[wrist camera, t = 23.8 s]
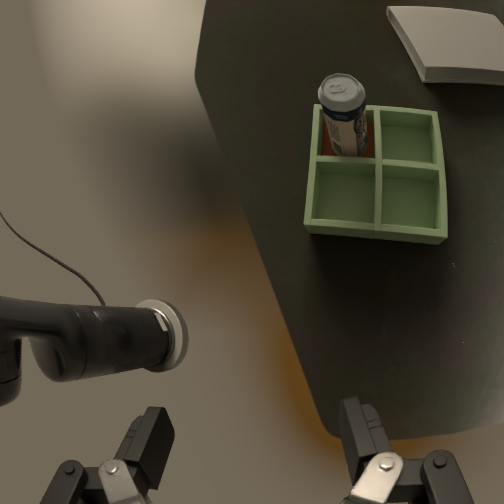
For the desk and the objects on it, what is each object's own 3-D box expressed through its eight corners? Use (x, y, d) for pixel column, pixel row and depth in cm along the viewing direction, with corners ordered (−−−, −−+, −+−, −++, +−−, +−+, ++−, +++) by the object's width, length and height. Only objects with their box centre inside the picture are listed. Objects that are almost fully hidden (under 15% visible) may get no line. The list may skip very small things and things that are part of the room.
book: (539, 77, 22) (424, 66, 30) (532, 89, 26) (422, 83, 34) (491, 11, 25) (385, 3, 33) (488, 24, 29) (387, 17, 37)
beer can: (370, 159, 34) (369, 102, 23) (334, 163, 36) (320, 108, 25) (363, 128, 35) (358, 68, 24) (329, 132, 37) (313, 74, 26)
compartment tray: (309, 233, 36) (303, 224, 33) (318, 121, 38) (313, 104, 35) (438, 244, 30) (447, 237, 27) (432, 128, 32) (436, 111, 29)
